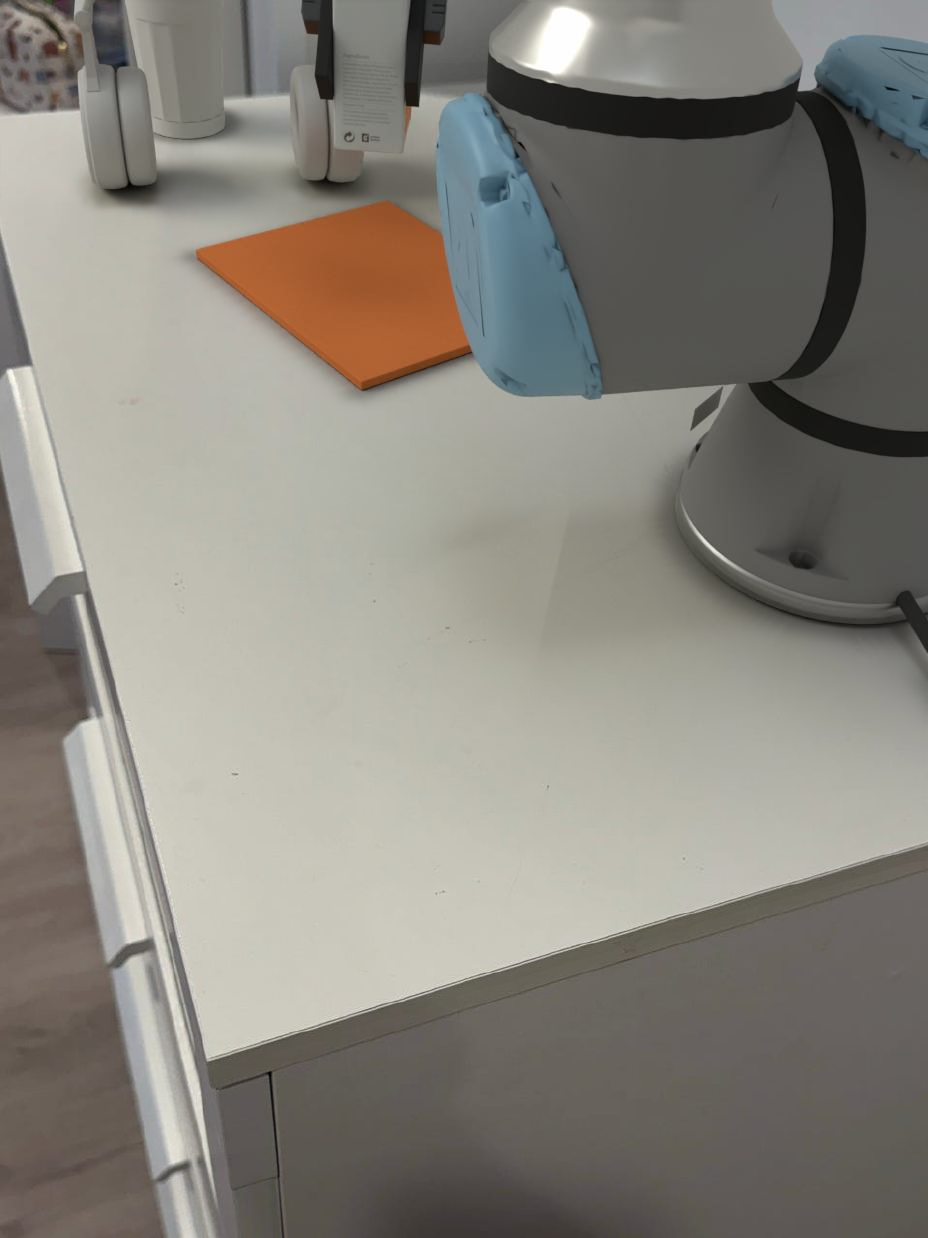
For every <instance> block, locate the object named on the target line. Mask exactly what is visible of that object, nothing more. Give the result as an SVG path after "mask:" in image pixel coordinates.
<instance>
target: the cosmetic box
mask: <svg viewBox="0 0 928 1238" xmlns="http://www.w3.org/2000/svg"><path fill="white" fill-rule="evenodd" d="M410 5H411V0H333V85H334V147H335V148H336V149H342V150H354V151H364V152H369V153H371V152H372V153H383V154H394V155H402V154H403V153H404V151H405V145H406V141H407V139H406V138H407V134H408V130H409V127H410V123H411V120H412V107H410V106H406V100H405V89H404V77H405V65H406V53H407V41H408V29H409V17H410Z"/></svg>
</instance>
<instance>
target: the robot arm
mask: <svg viewBox="0 0 928 1238" xmlns="http://www.w3.org/2000/svg"><path fill="white" fill-rule="evenodd" d="M300 8H301V9H300V13H301V17H302V21H303V26H304V29H305V32H306V35H315V36H317V40H316V41H317V43H316V54H315V64H314V65H315V80H316V84H317V88H318V92H319V96H320V99H325V100H333V96H334V85H333V0H301V7H300ZM447 10H448V0H411V5H410V17H409V29H408V41H407V53H406V65H405V77H404V89H405V100H406V106H410V107H411V108H420V101H421V91H422V90H421V89H422V77H423V64H424V51H425V45H431V46H432V45H433V46H441V45H442V43H443V41H444V39H445V36H446V35H445V34H446V26H447V25H446V23H447V12H448V11H447ZM486 67H487V68H486V84H485V91H484V93H483V95H482V94H481V93H478V92H477V93H476V92H471V91H470V92H465V93H464V94H463V95H462V96H461V97H459V98H456V99H453V100H449V102H448V103H446V104H445V106H444V107H443V108H442V111H441V113H440V116H439V121H438V137H437V139H436V145H435V173H436V175H435V176H436V191H437V201H438V209H439V210H438V212H439V219H440V226H441V228H440V229H441V234H442V235H443V241H444V247H445V254H446V259H447V264H448V269H449V274H450V279H451V283H452V288H453V292H454V296H455V300H456V304H457V308H458V312H459V315H460V319H461V322H462V325H463V328H464V331H465V334H466V337H467V340H468V342H469V345H470V347H471V350H472V352H471V353H472V355H473V356H474V358H475V360H476V363H477V364H478V366H479V367H480V369H481V371H482V372H483V373H484V375H485V376H486V377H487V378H488V380H489V381H490V382H492V384H494V385H495V386H496V387H497V388H499V389H500V390H502V391H504V392H506V393H508V394H510V395H512V396H516V397H521V398H522V397H524V398H540V397H544V398H545V397H570V396H571V397H572V396H573V397H575V396H576V397H577V396H581V397H582V398H584V399H586V400H588V401H594V400H600V399H601V398H602V396H604V395H617V394H618V395H619V394H629V393H641V392H653V391H655V392H656V391H667V390H679V389H692V388H703V387H715V386H717V387H718V386H721V387H719V388H718V390H716V391H715V392H714V393H713V394H711V395H710V396H709V397H707V398H706V400H704V401H703V402H702V403H700V404H699V405H698V406H697V407H696V408H694V412H693V416H692V421H691V426H690V430H689V431H690V432H691V431H693V430H694V429H695V428H696V427H697V426H698V425H700V424H701V423H702V422H703V421H704V420H706V419H707V418H708V417H709V416H710V415H712V414H713V413H714V412H715V411H716V410H717V409H718V408H719V406H720V403H721V398H722V394H723V390H724V386H728V385H735V386H734V387H733V388H732V390H731V392H730V393H729V395H728V397H727V398H726V400H725V402H724V403H723V405H722V407H721V409H720V411H719V412H718V414H717V416H716V417H715V419H714V421H713V423H712V424H711V426H710V428H709V429H708V430H707V431H706V432H705V433H703V435H701V437H700V438H699V439H698V441H697V442H696V444H695V445H694V446H693V448H692V449H691V451H690V452H689V455H688V456H687V459H686V461H685V464H684V466H683V468H682V469H681V474H680V478H679V481H678V487H677V491H676V494H675V501H674V511H675V512H674V514H675V518H676V519H675V520H676V524H677V527H678V529H679V532H680V534H681V536H682V537H683V539H684V541H685V543H686V544H687V546H688V547H689V549H690V550H691V551H692V552H693V554H694V555H695V556H696V557H697V559H698V560H699V561H700V562H701V563H703V564H704V565H705V567H706V568H707V569H709V570H710V571H711V572H712V573H713V574H715V575H716V576H717V577H719V578H720V579H721V580H723V581H724V582H725V583H726V584H728V585H730V586H731V587H733V588H734V589H737V591H739V592H741V593H743V594H745V595H747V596H749V597H751V598H753V599H754V600H756V601H758V602H761V603H764V604H766V605H768V606H771V607H774V608H776V609H779V610H781V611H784V612H787V613H791V614H794V615H797V616H801V617H805V618H809V619H814V620H819V621H824V622H830V623H838V624H839V623H840V624H850V625H854V624H855V625H879V624H889V623H897V622H900V621H905V620H906V621H908V623H909V625H910V627H911V628H912V630H913V632H914V633H915V635H916V637H917V639H918V640H919V642H920V643H921V645H922V647H923V648H924V650H925V652H926V653H927V654H928V618H927V617H926V615H925V614H927V613H928V42H925V41H923V42H922V41H919V40H918V41H917V40H914V39H908V38H903V37H896V36H887V35H875V34H856V35H850V36H846V38H844V39H843V38H841V39H838V40H835V41H834V42H832V43H831V44H830V45H828V47H827V48H826V50H825V53H824V56H823V58H822V60H821V61H820V62H819V63H817V64H816V65H815V68H814V72H813V76H814V79H815V82H816V84H815V86H814V88H812V89H807V90H799V86H800V82H801V78H802V77H801V76H802V72H803V67H804V60H803V57H802V55H801V53H800V52H799V50H798V49H797V47H796V45H795V44H794V43H793V41H792V40H791V38H790V37H789V35H788V34H787V32H786V31H785V29H784V28H783V26H782V25H781V22H780V21H779V20H778V18H777V17H776V14H775V11H774V7H773V0H522V1H521V2H520V3H519V4H518V5H517V6H516V7H515V8H514V9H513V10H512V11H511V12H510V14H509V15H507V16H506V17H505V18H504V19H503V20H502V21H501V23H499V25H498V26H496V27H495V28H494V30H492V31H491V33H490V35H489V41H488V47H487V66H486Z"/></svg>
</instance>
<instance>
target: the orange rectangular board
mask: <svg viewBox="0 0 928 1238" xmlns="http://www.w3.org/2000/svg"><path fill="white" fill-rule="evenodd" d="M195 254H196V258H197V259H198V260H200V262H202V263H203V264H205V265H206V266H207V267H208V268H209V269H210V270H212V271H213V272H215V273H216V274H217V275H218V276H219V277H220V278H222V279H223V280H224V281H225V282H226V283H228V284H229V285H230V286H231V287H233V288H234V289H236V290H237V291H238V292H239V293H240V294H242V295H243V296H244V297H245V298H246V299H248V300H249V301H250V302H252V303H253V304H254V305H255V306H257V308H259V309H260V310H262V311H263V313H265V314H266V315H268V316H269V317H270V318H271V319H272V320H273V321H275V322H276V323H278V325H280V326H281V327H283V329H285V330H286V331H288V333H290V334H291V335H293V336H294V337H295V338H296V339H297V340H299V341H300V342H302V343H303V345H305V346H306V347H307V348H308V349H310V350H311V351H313V352H314V353H315V354H316V355H317V356H319V357H320V358H321V359H323V361H325V362H326V363H327V364H329V365H330V366H331V367H332V368H333V369H335V370H336V371H337V372H339V374H341V375H342V376H344V378H346V379H347V380H348V381H350V382H351V383H352V384H353V385H354V386H356V387H357V388H358V389H360V390H361V391H364V390H366V389H370V388H372V387H375V386H377V385H378V386H379V385H381V384H383V383H386V382H389V381H392V380H395V379H398V378H400V377H403V376H406V375H409V374H412V373H415V372H418V371H421V370H424V369H426V368H429V367H433V366H435V365H438V364H440V363H443V362H446V361H449V360H452V359H455V358H458V357H460V356H463V355H466V354H470V353H473V352H472V350H471V347H470V345H469V342H468V340H467V337H466V334H465V331H464V328H463V325H462V322H461V319H460V315H459V312H458V308H457V304H456V300H455V296H454V292H453V288H452V283H451V279H450V274H449V269H448V264H447V259H446V254H445V247H444V241H443V235H442V233H440V232H439V231H437V230H435V229H433V228H432V227H431V226H429V225H427V224H426V223H424V222H423V221H421V220H419V219H418V218H416V217H415V216H413V215H412V214H410V213H409V212H407V211H405V210H404V209H402V208H400V207H399V206H397V205H396V204H394V203H393V202H391V201H389V200H386V199H385V200H383V201H378V202H374V203H371V204H366V205H363V206H359V207H355V208H351V209H348V210H344V211H343V210H342V211H340V212H339V211H338V212H335V213H333V214H327V215H324V216H321V217H320V216H319V217H317V218H313V219H309V220H304V221H301V222H297V223H293V224H288V225H285V226H282V227H278V228H274V229H270V230H266V231H263V232H258V233H254V234H252V235H247V236H243V237H238V238H234V239H232V240H227V241H223V242H220V243H216V244H211V245H209V246H204V247H200V248H196V249H195Z"/></svg>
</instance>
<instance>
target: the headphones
mask: <svg viewBox="0 0 928 1238" xmlns="http://www.w3.org/2000/svg"><path fill="white" fill-rule="evenodd" d="M95 2H96V0H74V7H73V8H74V10H73V21H74V24H75V25H76V26H77V28H79V29H80V34H81V42H82V51H83V59H84V60H83V61H84V65H83V66H82V68H81V69H80V70H78V71H77V89H78V93H77V94H78V103H79V115H80V123H81V129H82V136H83V137H82V138H83V143H84V150H85V154H86V160H87V165H88V166H87V167H88V171H89V176H90V179H91V182H92V183H93V184H94V185H96V186H97V187H98V188H99V189H105V190H117V189H123V188H125V187H127V186H128V183H131V185H132V186H147V185H151V184H152V185H153V184H154V183H155V182H156V181H157V177H158V166H157V155H156V147H155V146H156V145H155V137H154V136H155V135H154V132H153V126H152V118H151V109H150V101H149V92H148V85H147V79H146V76H145V73H144V72H143V70H142V69H140V68H138V67H137V66H120V67H118V68H117V70H116V71H115V69H114V67H113V66H112V65H110V64H105V63H99V59H98V55H97V48H96V41H95V37H94V36H95V35H94V31H93V21H94V20H93V18H94V17H93V15H94V14H93V12H94V11H93V10H94V3H95ZM315 65H316V64H302V65H298V66H295V67H294V69H293V70H292V71H291V75H290V82H289V83H290V84H289V110H290V111H289V113H290V115H289V116H290V129H291V140H292V150H293V156H294V161H295V167H296V170H297V172H298V175H299V176H300V178H301V179H303V180H306V181H321V180H324V179H325V178H327V180H328V181H330V182H335V183H348V182H354V181H356V179H357V178H358V177H359V176H360V175H362V171H363V167H364V156H365V151H354V150H342V149H336V148H335V147H334V96H333V100H325V99H320V96H319V92H318V88H317V84H316V80H315Z"/></svg>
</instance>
